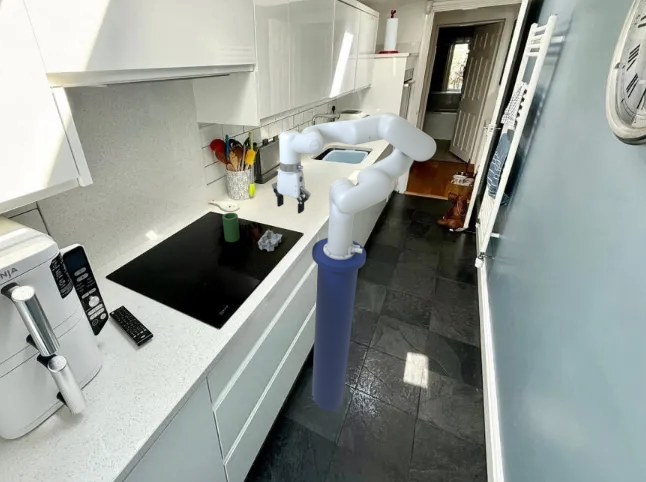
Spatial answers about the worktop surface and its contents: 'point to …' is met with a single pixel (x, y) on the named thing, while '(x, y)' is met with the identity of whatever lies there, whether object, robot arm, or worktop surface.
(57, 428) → the worktop surface
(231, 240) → the green hollow cylinder
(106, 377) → the worktop surface
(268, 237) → the egg carton
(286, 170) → the robot arm
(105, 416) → the worktop surface
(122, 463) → the worktop surface
